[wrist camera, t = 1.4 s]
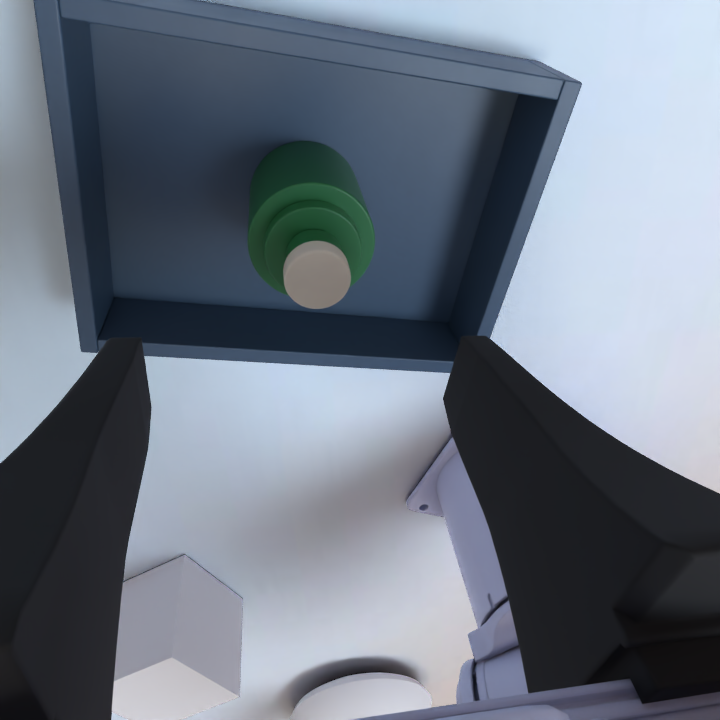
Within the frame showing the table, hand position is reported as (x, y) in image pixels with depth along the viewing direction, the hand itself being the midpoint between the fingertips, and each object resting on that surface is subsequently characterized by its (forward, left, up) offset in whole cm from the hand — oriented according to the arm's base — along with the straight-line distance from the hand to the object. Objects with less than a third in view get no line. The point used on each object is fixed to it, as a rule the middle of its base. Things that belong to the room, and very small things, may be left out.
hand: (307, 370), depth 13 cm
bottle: (0, 0, -10) cm, 10 cm away
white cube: (-2, +27, -11) cm, 29 cm away
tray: (0, 0, -11) cm, 11 cm away
